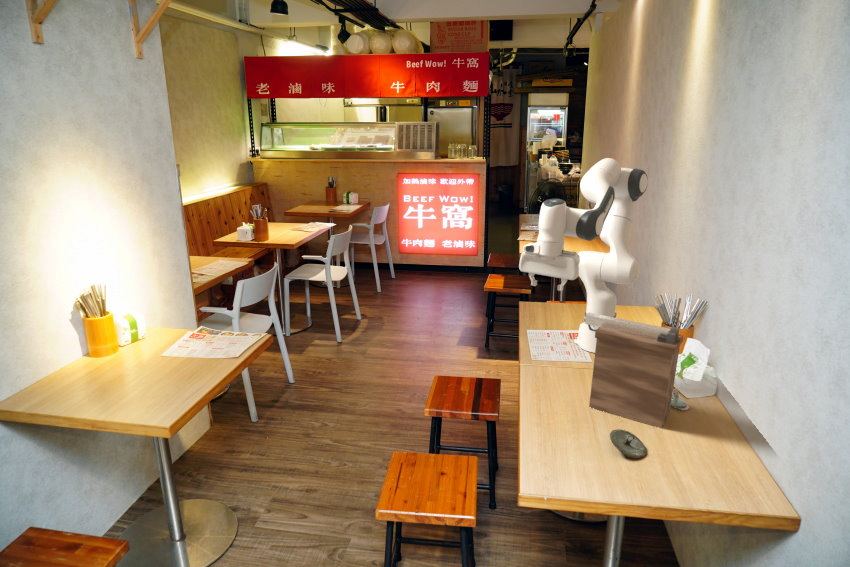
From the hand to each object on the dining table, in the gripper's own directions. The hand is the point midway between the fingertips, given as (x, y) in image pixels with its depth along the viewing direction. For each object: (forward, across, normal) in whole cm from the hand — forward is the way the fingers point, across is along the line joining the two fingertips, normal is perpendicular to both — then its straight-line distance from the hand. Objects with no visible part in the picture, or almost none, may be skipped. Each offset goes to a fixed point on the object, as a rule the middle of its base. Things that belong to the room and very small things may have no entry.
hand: (546, 287), depth 197 cm
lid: (+33, -39, +30) cm, 59 cm away
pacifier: (+34, -46, -6) cm, 57 cm away
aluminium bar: (+7, -29, +6) cm, 30 cm away
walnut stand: (+33, -33, +6) cm, 47 cm away
